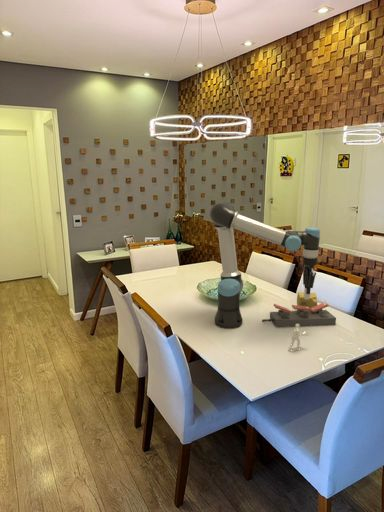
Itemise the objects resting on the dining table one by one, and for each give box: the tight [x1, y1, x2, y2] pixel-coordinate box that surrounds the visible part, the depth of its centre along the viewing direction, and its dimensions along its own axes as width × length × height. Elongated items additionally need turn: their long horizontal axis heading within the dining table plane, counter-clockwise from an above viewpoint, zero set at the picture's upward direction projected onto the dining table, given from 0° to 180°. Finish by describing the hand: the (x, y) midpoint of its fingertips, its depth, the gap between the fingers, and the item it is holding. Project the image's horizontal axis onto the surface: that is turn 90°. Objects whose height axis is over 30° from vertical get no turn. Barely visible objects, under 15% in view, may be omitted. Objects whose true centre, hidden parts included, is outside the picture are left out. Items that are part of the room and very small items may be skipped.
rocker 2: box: [291, 304, 310, 311], centre depth 193 cm, size 9×4×2 cm, turn 94°
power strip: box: [261, 309, 337, 328], centre depth 192 cm, size 38×12×6 cm, turn 94°
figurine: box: [288, 324, 308, 353], centre depth 161 cm, size 5×9×12 cm, turn 124°
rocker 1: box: [273, 303, 292, 313], centre depth 193 cm, size 9×4×2 cm, turn 94°
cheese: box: [296, 291, 318, 311], centre depth 207 cm, size 10×11×10 cm
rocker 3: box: [310, 301, 329, 312], centre depth 194 cm, size 9×4×2 cm, turn 93°
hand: (306, 298), depth 192 cm, fingers closed
